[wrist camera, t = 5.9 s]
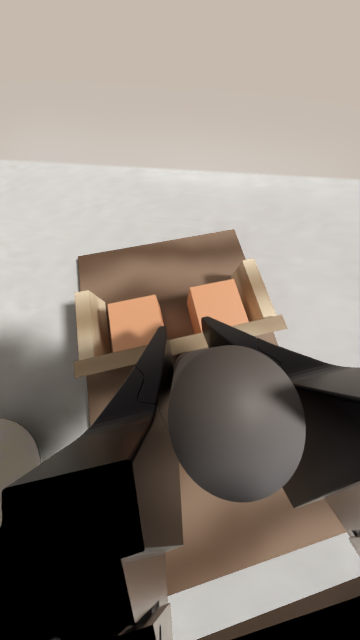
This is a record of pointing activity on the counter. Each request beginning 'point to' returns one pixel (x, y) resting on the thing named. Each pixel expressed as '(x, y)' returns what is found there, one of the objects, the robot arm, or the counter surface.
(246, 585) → the counter surface
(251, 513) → the board
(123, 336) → the block
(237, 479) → the wooden pusher with handle
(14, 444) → the teacup
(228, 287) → the block
